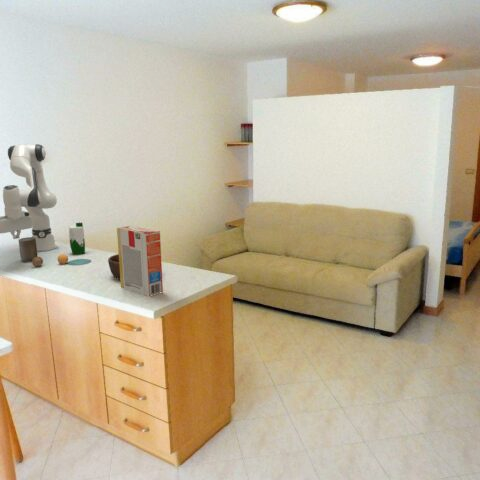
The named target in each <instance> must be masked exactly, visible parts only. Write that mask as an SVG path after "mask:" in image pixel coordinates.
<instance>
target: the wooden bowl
mask: <svg viewBox="0 0 480 480" xmlns="http://www.w3.org/2000/svg"><path fill="white" fill-rule="evenodd" d="M107 262H108V266H109V270H110V273H111V275H112V276H113V277H114V278H115V279H116V280H120V266H119V253H118V254H113V255H111V256H110V257H108V260H107Z"/></svg>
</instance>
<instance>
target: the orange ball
mask: <svg viewBox="0 0 480 480" xmlns="http://www.w3.org/2000/svg"><path fill="white" fill-rule="evenodd" d="M57 262H58V263H59V264H61V265H65V264H67V262H69V256H68V255H67V254H65V253H60V254H59V255H58V256H57Z"/></svg>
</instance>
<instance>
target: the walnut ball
mask: <svg viewBox="0 0 480 480" xmlns="http://www.w3.org/2000/svg"><path fill="white" fill-rule="evenodd" d="M31 264H32V265H33V266H34V267H37V268H39V267H41V266H42V265H43V264H44V260H43V258H42V257H41V256H39V255H38V256H37V257H34V258H33V259H32V262H31Z"/></svg>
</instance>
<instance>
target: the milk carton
mask: <svg viewBox="0 0 480 480" xmlns="http://www.w3.org/2000/svg"><path fill="white" fill-rule="evenodd" d="M68 228H69V229H68V230H69V231H68V237H69V246H70V251H71V253H72V256H77V255H85V254H86V241H85V231H84V225H83V222H76V223H75V225H71V226H69V227H68Z"/></svg>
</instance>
